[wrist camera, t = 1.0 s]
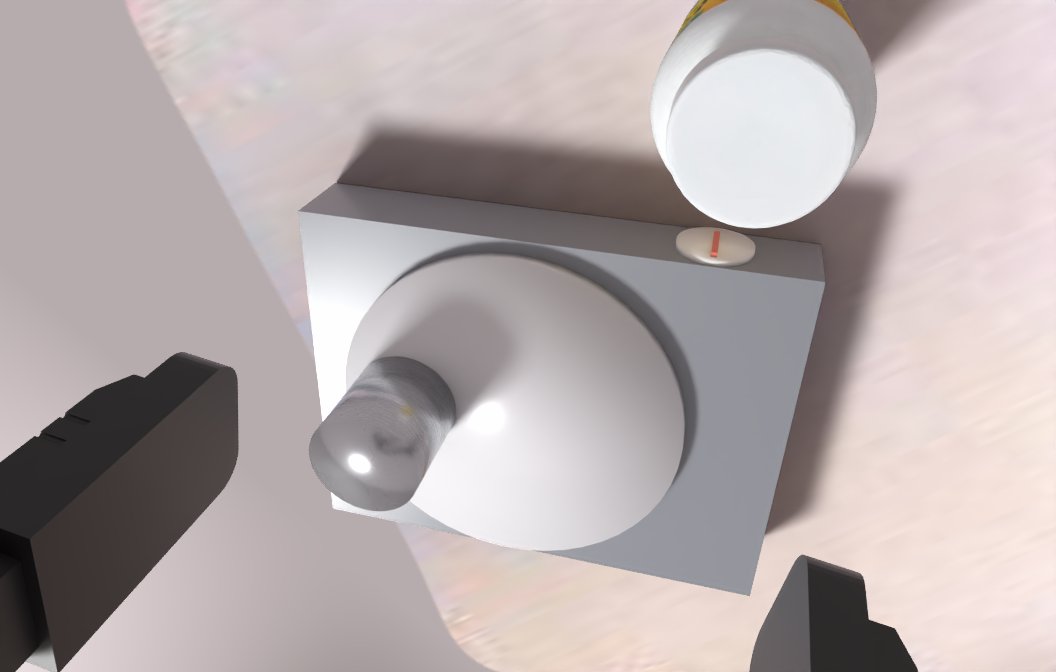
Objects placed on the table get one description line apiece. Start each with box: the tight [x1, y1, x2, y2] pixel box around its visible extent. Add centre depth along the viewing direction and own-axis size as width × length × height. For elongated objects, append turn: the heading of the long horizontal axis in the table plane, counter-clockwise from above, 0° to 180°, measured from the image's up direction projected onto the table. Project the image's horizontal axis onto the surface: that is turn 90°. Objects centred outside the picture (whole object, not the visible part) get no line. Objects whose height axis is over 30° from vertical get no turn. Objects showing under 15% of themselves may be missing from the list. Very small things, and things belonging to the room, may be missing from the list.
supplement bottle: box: [651, 0, 877, 228], centre depth 22 cm, size 5×5×10 cm
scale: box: [298, 183, 826, 596], centre depth 32 cm, size 18×14×4 cm
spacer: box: [309, 356, 456, 511], centre depth 30 cm, size 4×4×4 cm
